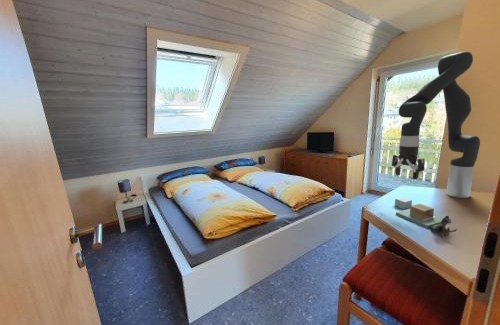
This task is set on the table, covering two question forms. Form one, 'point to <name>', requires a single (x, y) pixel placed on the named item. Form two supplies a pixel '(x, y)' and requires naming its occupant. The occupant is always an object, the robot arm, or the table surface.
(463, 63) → the robot arm
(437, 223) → the board
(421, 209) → the walnut brick
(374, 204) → the table surface
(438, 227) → the eagle figurine
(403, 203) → the blue-grey brick
